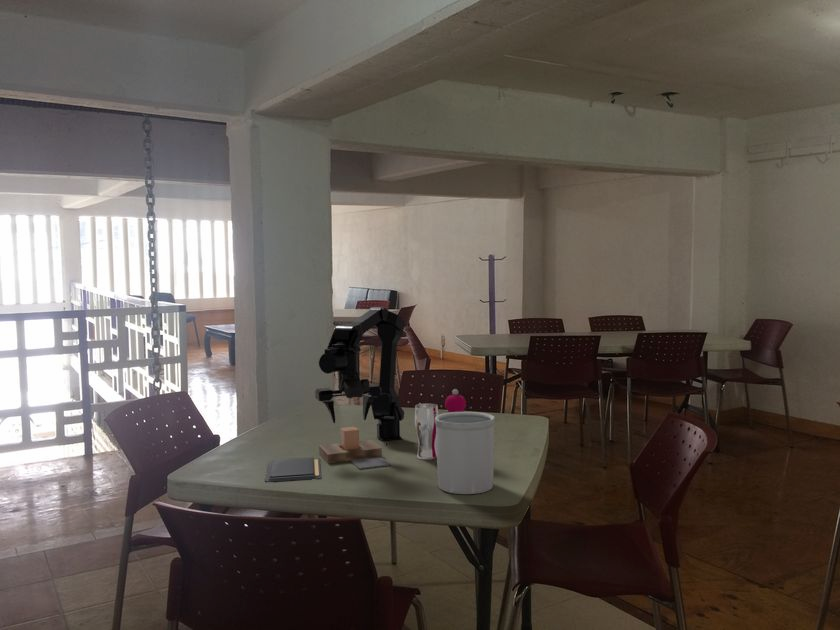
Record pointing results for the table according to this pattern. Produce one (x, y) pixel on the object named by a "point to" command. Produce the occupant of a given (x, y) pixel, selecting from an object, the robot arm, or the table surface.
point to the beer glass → (426, 430)
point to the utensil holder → (465, 452)
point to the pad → (370, 462)
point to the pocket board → (349, 452)
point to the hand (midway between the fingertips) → (349, 421)
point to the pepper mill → (455, 402)
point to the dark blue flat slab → (293, 470)
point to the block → (349, 438)
